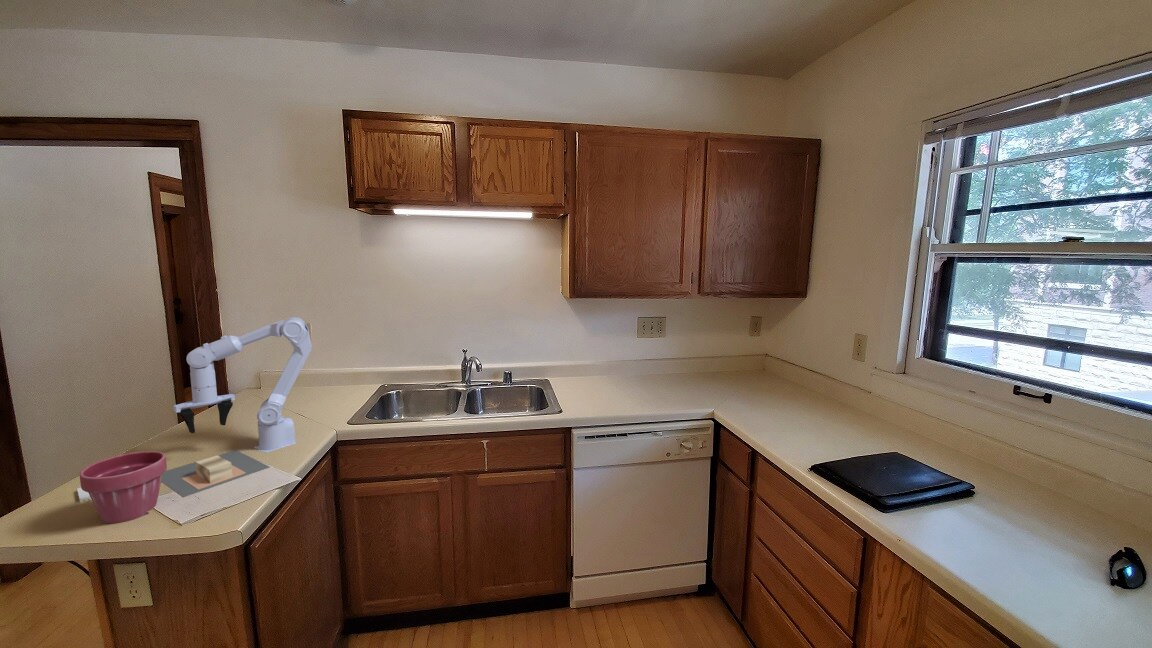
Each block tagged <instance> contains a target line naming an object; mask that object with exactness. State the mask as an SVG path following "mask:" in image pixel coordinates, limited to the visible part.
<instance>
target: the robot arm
mask: <svg viewBox="0 0 1152 648" xmlns="http://www.w3.org/2000/svg"><path fill="white" fill-rule="evenodd" d="M309 330H310V329H309V327H308V325H307V324H306V322H305V321H304V319H302V318H300V317H297V316H293V317H288V318H287V319H286V320H285V319H281V320H278V321H275V322H271V323H269V324H266V325H264V326H261V327H259V328H256V329H254V330H251V331H249V332H247V333H244V334H241V335H240V336H236V335H233V334H232V335H231V334H230V335H228V336H227V334H225V335H223V336H221V337H220V339H218V340H215V341H213V342H210V343H208V342H206V343H203V344H202V346H199V347H196V348H194V349H193V350H191V351H190V352H188V353H187V355H186V362H187V364H188V365H189V370H190V372H189V375H190V376H189V377H190V385H191V386H190V387H191V396H192V400H189V401H186V402H182V403H178V404H174V405H173V406H172V409H173V412H174V413H176V414H177V413H178V415H179V416H180V417H181V418H182V419H183V421H184V423H185V425H186V427H187V429H188V431H189V432H188V433H190V434H195V432H196V427H195V412H194V411H193V410H194V409H197V408H203V407H204V408H205V407H207V406H208V407H209V406H213V405H217V409H218V414H219V417H218V418H219V424H220V425H221V426H226V424H227V419H228V416H229V413H230V410H231V409H232V407H233V406H234V405H233V404H234V403H233V402H234V401H236V396H235V394H234V393H228V394H223V395H222V394H221V395H218V392H217V381H216V371H215V365H214V361H217V362H218V361H220V360H223V359H226V358H229V357H230V356H233V355H236V354H238V353H240V352H242V350H243V347H245V346H247V345H249V344H252V343H255V342H258V341H260V340H263V339H267V338H268V337H277V338H281V337H282V336H283V337H284V338H286V340H288V341H289V342H290V343H291V345H292V347H293V351H292V353H291V355H290V357H289V359H288V361H287V363H286V365H285V367H284V369H283V370H282V372H281V375H280V376H279V378H278V380H277V382H276V384H275V386H274V387H273V389H272V391H271V393H270V395H269V396H268V398H266V399H265V400H264V401H263V402H262V403H261V405H260V408H259V410H258V411H257V413H256V419H257V432H258V443H259V444H258V445H256V446H253V448H254V449H256V450H258V451H259V452H260V451H261V452H263V453H270V452H273V451H275V450H279V449H282V448H285V447H288V446H292V445H295V444H296V445H297V442H296V432H295V423H294V421H293V419H292V418H291V417H289V416H288V417H285V416H283V415H282V412H283V410H284V404H285V402H286V399H287V397H288V395H289V393H290V392H291V390H292V388H293V386H294V384H295V382H296V380H297V378H298V376H299V374H300V373H301V371H302V369H303V366H304V365H305V363H306V361H307V360H308V357H309V356H310V354H311V351H312V348H313V344H312V340H311V335H310V331H309Z"/></svg>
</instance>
